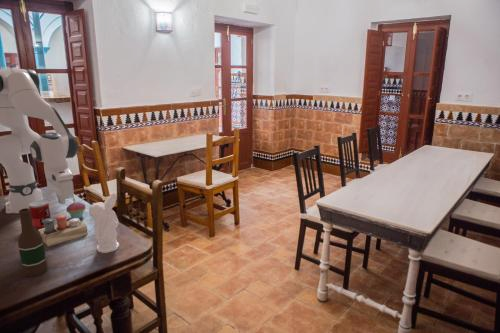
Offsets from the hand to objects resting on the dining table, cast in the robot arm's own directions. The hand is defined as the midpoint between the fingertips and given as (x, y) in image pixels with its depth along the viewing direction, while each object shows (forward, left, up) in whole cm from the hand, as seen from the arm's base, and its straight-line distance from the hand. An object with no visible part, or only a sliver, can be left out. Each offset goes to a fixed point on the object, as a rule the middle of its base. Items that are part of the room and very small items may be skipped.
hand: (61, 203), depth 154 cm
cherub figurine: (+22, +8, -15) cm, 28 cm away
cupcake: (-17, +11, -15) cm, 25 cm away
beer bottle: (+22, -18, -15) cm, 32 cm away
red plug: (0, -1, -11) cm, 11 cm away
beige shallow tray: (0, -1, -15) cm, 15 cm away
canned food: (-19, -4, -15) cm, 25 cm away
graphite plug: (0, -6, -11) cm, 13 cm away
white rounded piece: (0, +4, -15) cm, 15 cm away
